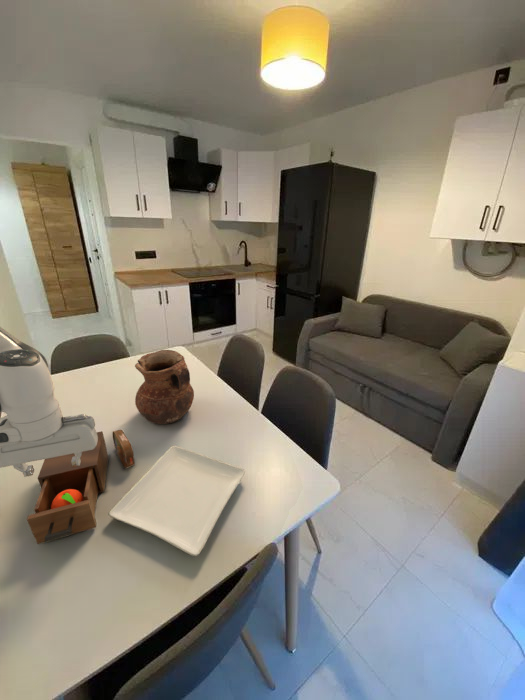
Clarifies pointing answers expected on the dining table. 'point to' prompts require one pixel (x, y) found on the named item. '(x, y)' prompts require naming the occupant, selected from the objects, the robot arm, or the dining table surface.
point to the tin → (123, 448)
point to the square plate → (180, 498)
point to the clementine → (66, 498)
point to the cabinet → (88, 460)
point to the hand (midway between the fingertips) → (53, 469)
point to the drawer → (68, 517)
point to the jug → (164, 387)
